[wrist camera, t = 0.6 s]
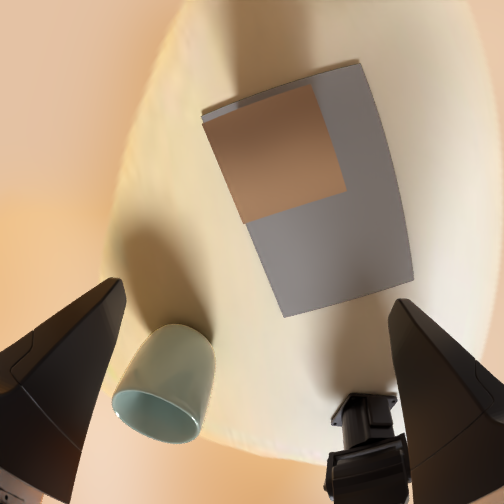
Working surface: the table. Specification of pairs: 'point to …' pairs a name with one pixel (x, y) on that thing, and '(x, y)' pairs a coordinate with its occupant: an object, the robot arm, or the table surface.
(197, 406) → the cup
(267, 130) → the block
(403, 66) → the table surface
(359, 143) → the mat
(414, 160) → the table surface
